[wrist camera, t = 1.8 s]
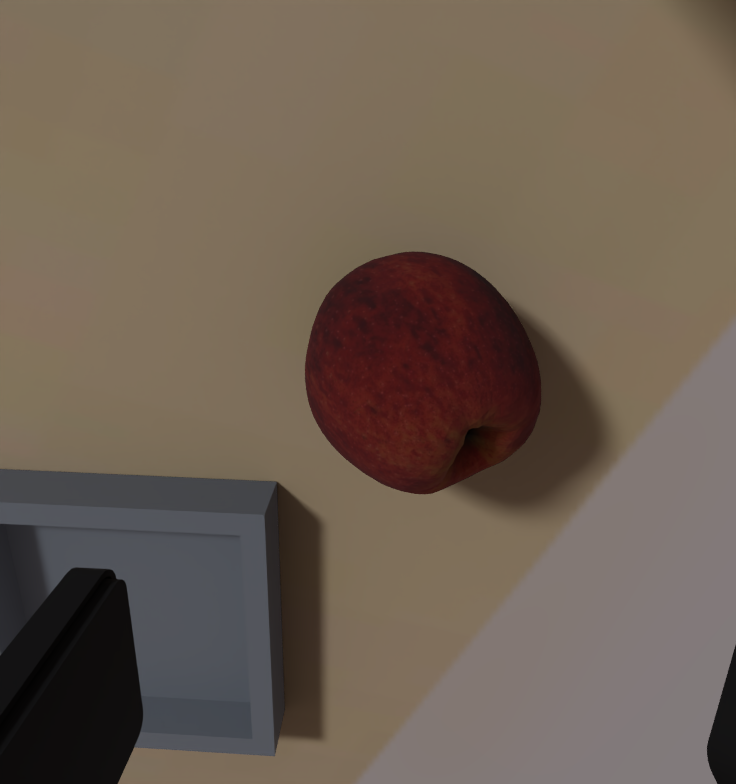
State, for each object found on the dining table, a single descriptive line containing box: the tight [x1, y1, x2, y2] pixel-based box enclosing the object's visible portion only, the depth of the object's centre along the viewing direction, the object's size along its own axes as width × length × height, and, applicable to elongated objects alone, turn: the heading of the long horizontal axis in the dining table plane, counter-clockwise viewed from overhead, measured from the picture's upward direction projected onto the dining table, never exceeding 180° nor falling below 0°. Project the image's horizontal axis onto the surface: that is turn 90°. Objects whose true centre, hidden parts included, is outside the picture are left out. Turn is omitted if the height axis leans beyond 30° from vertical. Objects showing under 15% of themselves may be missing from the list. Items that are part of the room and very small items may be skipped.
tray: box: [0, 469, 285, 756], centre depth 28 cm, size 13×13×3 cm
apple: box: [305, 252, 541, 494], centre depth 21 cm, size 7×8×8 cm
